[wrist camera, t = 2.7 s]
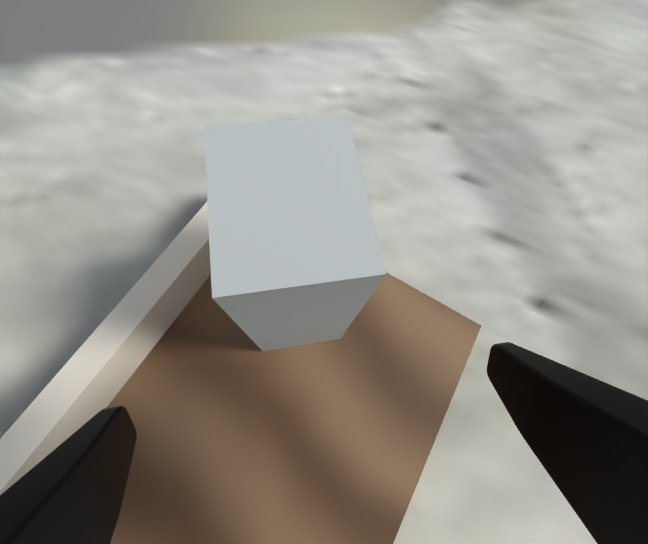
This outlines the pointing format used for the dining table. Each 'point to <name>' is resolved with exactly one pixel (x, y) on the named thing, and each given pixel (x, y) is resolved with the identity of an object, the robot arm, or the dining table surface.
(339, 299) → the carton
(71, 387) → the rail
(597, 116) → the dining table surface
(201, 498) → the shelf board
